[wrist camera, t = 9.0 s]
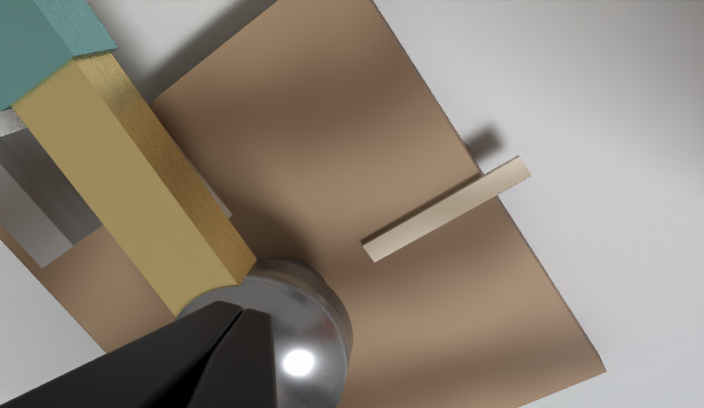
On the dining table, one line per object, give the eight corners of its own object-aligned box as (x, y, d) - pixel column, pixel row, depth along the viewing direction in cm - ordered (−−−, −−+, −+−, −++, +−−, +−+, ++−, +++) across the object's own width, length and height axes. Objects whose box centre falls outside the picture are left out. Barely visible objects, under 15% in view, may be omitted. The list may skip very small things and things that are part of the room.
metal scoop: (384, 362, 19) (378, 407, 17) (253, 415, 21) (233, 461, 19) (103, -56, 15) (52, -63, 13) (-29, 54, 17) (-92, 63, 15)
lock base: (633, 341, 21) (689, 439, 16) (261, 495, 27) (226, 598, 23) (352, -119, 17) (320, -160, 12) (-17, 192, 23) (-130, 243, 18)
